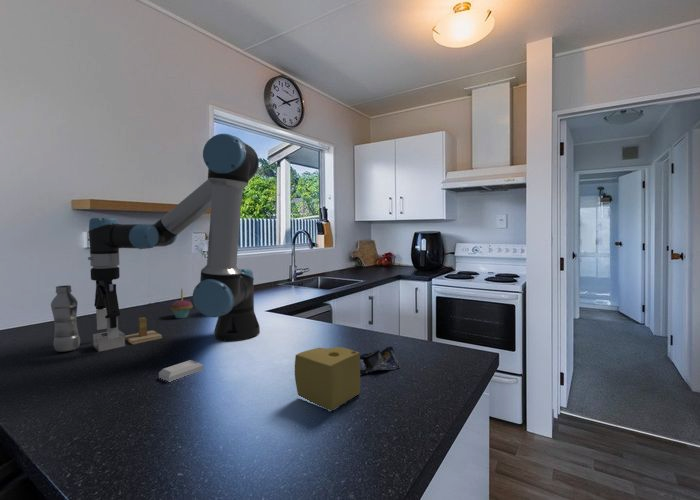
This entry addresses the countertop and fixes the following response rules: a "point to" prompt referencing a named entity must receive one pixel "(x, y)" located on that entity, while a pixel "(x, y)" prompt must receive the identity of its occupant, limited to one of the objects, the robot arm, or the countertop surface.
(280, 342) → the countertop surface
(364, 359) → the snack package
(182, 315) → the cupcake
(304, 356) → the cheese
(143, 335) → the tan square plate
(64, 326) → the plastic bottle
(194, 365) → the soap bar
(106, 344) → the grey square frame
